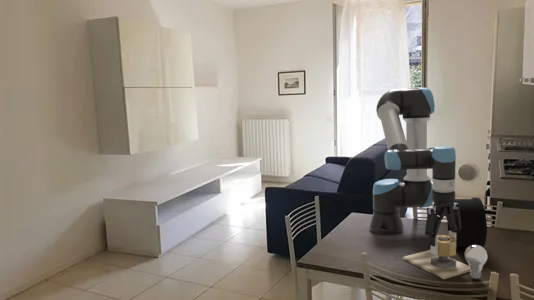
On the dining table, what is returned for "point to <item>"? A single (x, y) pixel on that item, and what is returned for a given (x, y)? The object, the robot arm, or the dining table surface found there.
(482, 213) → the car wheel rim
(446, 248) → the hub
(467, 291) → the dining table surface
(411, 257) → the shaft stand
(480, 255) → the light bulb
